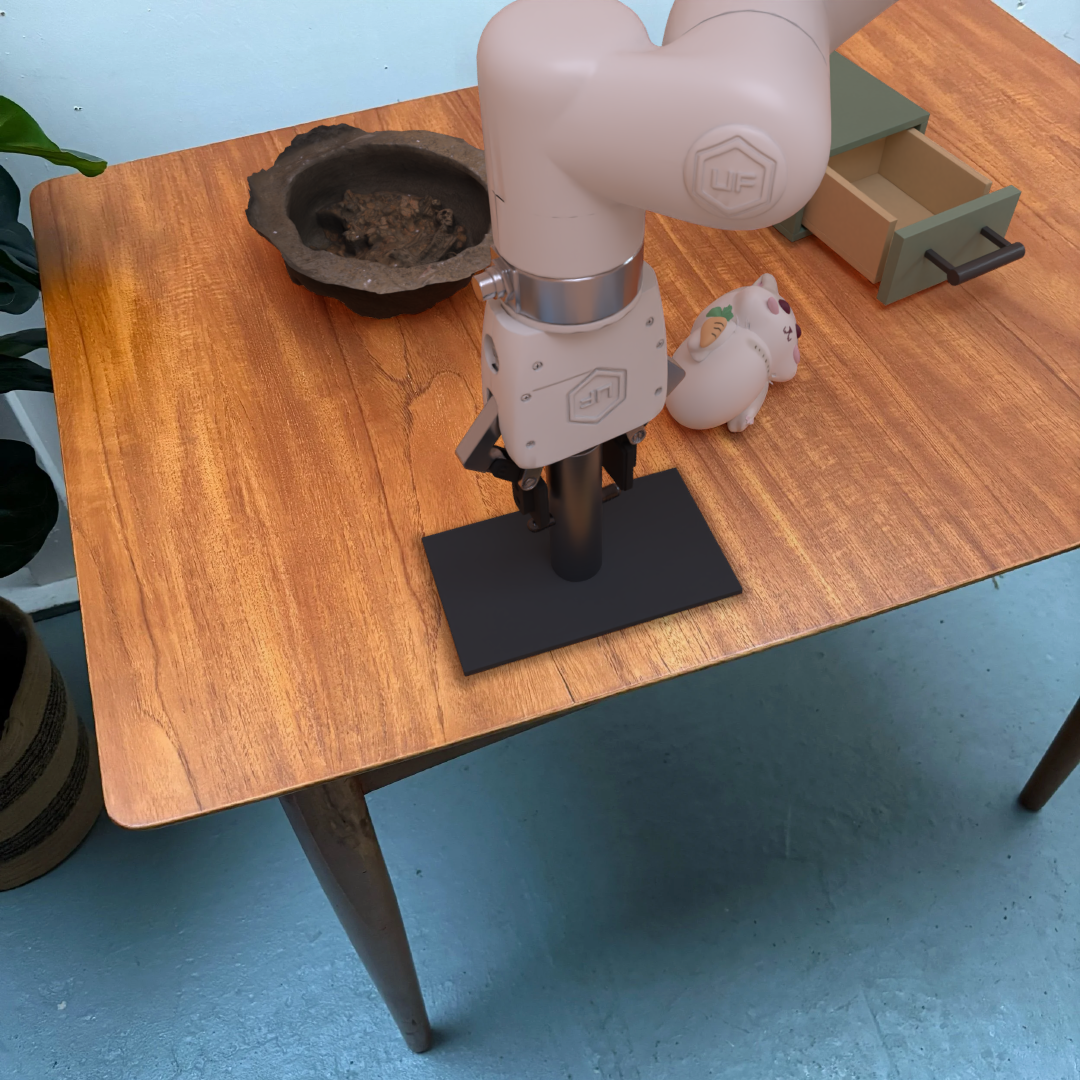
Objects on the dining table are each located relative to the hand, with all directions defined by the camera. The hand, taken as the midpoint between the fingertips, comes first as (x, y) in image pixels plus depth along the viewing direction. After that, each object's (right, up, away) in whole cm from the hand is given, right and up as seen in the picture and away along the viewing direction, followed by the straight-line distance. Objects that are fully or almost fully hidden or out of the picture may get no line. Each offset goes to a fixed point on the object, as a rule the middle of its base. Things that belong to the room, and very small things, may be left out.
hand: (575, 492), depth 66 cm
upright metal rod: (0, -5, +6) cm, 8 cm away
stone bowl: (-15, +23, +29) cm, 40 cm away
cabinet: (+23, +33, +35) cm, 53 cm away
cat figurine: (+13, +9, +17) cm, 23 cm away
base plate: (0, -5, +7) cm, 8 cm away
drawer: (+30, +23, +26) cm, 46 cm away
